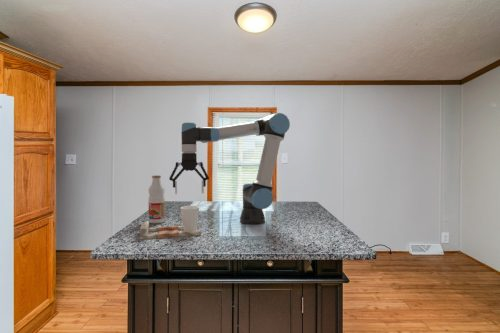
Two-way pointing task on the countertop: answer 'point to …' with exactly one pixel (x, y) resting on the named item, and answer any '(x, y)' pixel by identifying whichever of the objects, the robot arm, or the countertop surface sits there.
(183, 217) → the foam cup
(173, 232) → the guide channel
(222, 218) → the countertop surface
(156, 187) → the fruit juice
